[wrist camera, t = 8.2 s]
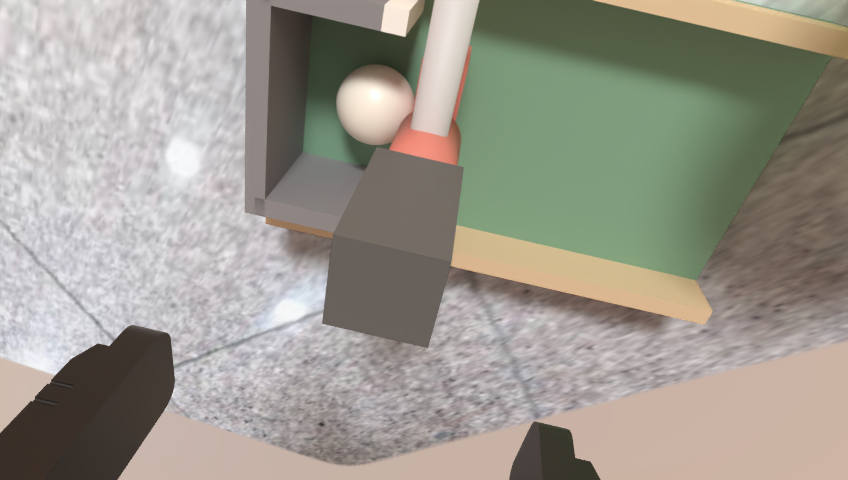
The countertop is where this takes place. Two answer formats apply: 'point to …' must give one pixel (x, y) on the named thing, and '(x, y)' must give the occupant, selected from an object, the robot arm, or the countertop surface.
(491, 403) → the countertop surface
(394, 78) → the ball
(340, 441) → the countertop surface
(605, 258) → the pitch
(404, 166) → the striker
